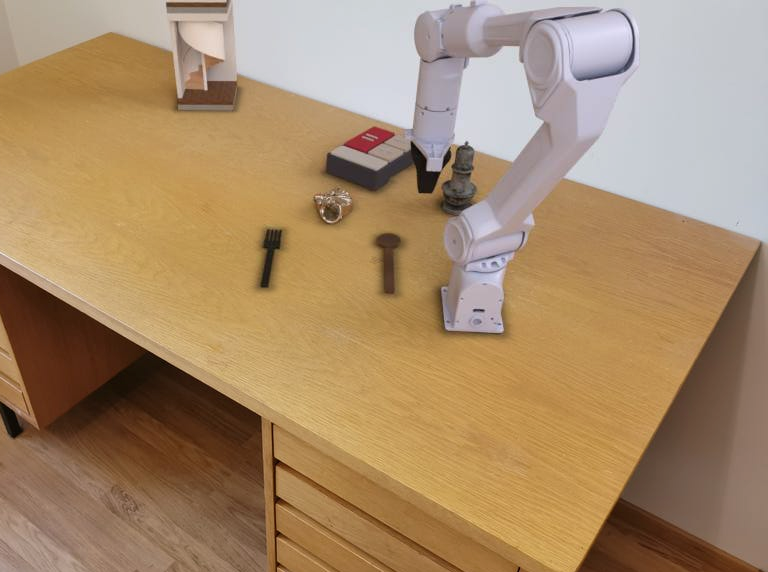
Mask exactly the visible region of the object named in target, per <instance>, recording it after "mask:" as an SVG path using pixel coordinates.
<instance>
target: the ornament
mask: <svg viewBox="0 0 768 572" xmlns="http://www.w3.org/2000/svg"><path fill="white" fill-rule="evenodd" d="M341 188H342V186H341V185H336V186H335V187H334V188H333V189H331V190H330V191H329V193H328V192H323V193H321V192H319V193H316V194H315V195H313V204H314V206H315V208H316V209H317V210H318V211H319V216H320V217H321V219H322V220H323V221H324V222H325V223H327V224H330V225H333V224H336V223H337V222H339V220H340V221H341V220H342V219H343V217H344V216H346V215H349V214H350V213H352V211H353V206H354V205H353V203H354V202H353V197H352V196H351V195H350V194H349V193H348V191H347V190H346V189H343V191H340V190H341ZM330 210H331V211H332V212H333V213H335V214H336V215H331V214H330V213H329V211H330Z"/></svg>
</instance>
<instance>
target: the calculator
mask: <svg viewBox="0 0 768 572" xmlns="http://www.w3.org/2000/svg"><path fill="white" fill-rule="evenodd" d="M410 142H411V140H405V139H404V136H403V135H401V134H395V132H393V131H391V130H387V129H384V128H382V127H378V126H376V125H375V126H372V127H370V128H369V129H367V130H364V131H363V132H361V133H359V134H358V135H356V136H354V137H352V138H351V139H348V140H347V141H345V142H344V143H343V144H342V145H339V146H338V147H336V148H334V149H333V150H331V151H329V152H327V154H326V163H325V164H326V165H325V166H326V167H325V172H326V173H327V174H330V175H333V176H334V177H338V178H340V179H342V180H345V181H348V182H351V183H353V184H356V185H359V186H361V187H363V188H366V189H369V190H371V191H378V190H379V189H381V188H382V187H384V186H385V185H387V184H388V182H389V181H390V180H391V179H392V178H394V176H396V175H398V174H400V173H401V172H403V171H404V170H405V169H407V168H409V167H410V166H411V165H413V164H414V161H413V159H412V156H411V145H410Z"/></svg>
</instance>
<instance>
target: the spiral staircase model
mask: <svg viewBox="0 0 768 572" xmlns="http://www.w3.org/2000/svg"><path fill="white" fill-rule="evenodd" d="M233 1H234V0H165V8H166V17H167V21H168V23H169V31H170V40H171V51H172V58H173V59H172V60H173V67H174V77H175V84H176V94H177V100H176V103H177V110H178V111H234V108H235V103H236V99H237V94H238V89H239V88H238V74H237V55H236V37H235V20H234V3H233Z"/></svg>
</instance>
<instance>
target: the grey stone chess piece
mask: <svg viewBox="0 0 768 572" xmlns="http://www.w3.org/2000/svg"><path fill="white" fill-rule="evenodd" d="M474 158H475V149H474V147H473V146H471V145H469V141H468V140H466V141H465V142H464V144H461V145H460V146H458V147H457V148H456V150H455V156H454V161H453V163H452V164H451V170H452V172H451V178H450V179H448V180H446V181H444V182H442V183H441V191H442V195H443V198H444V199H443V200H442V201H441V202H440V209H441V210H442V211H443V212H444V213H446V214H449V215H453V216H459V215H460V213H461V212H462V211H463V210H465V209H467V208H469V207H471V206H472V205H473V204H472V203H471V201H472V200H473V199H474V198H475V195H476V194H477V193H478V187H477V186H476V184H475V183H473V182H471V179H472V177H471V176H472V172H474V171H475V166H474V165H473V164H474V163H473V162H474Z"/></svg>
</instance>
